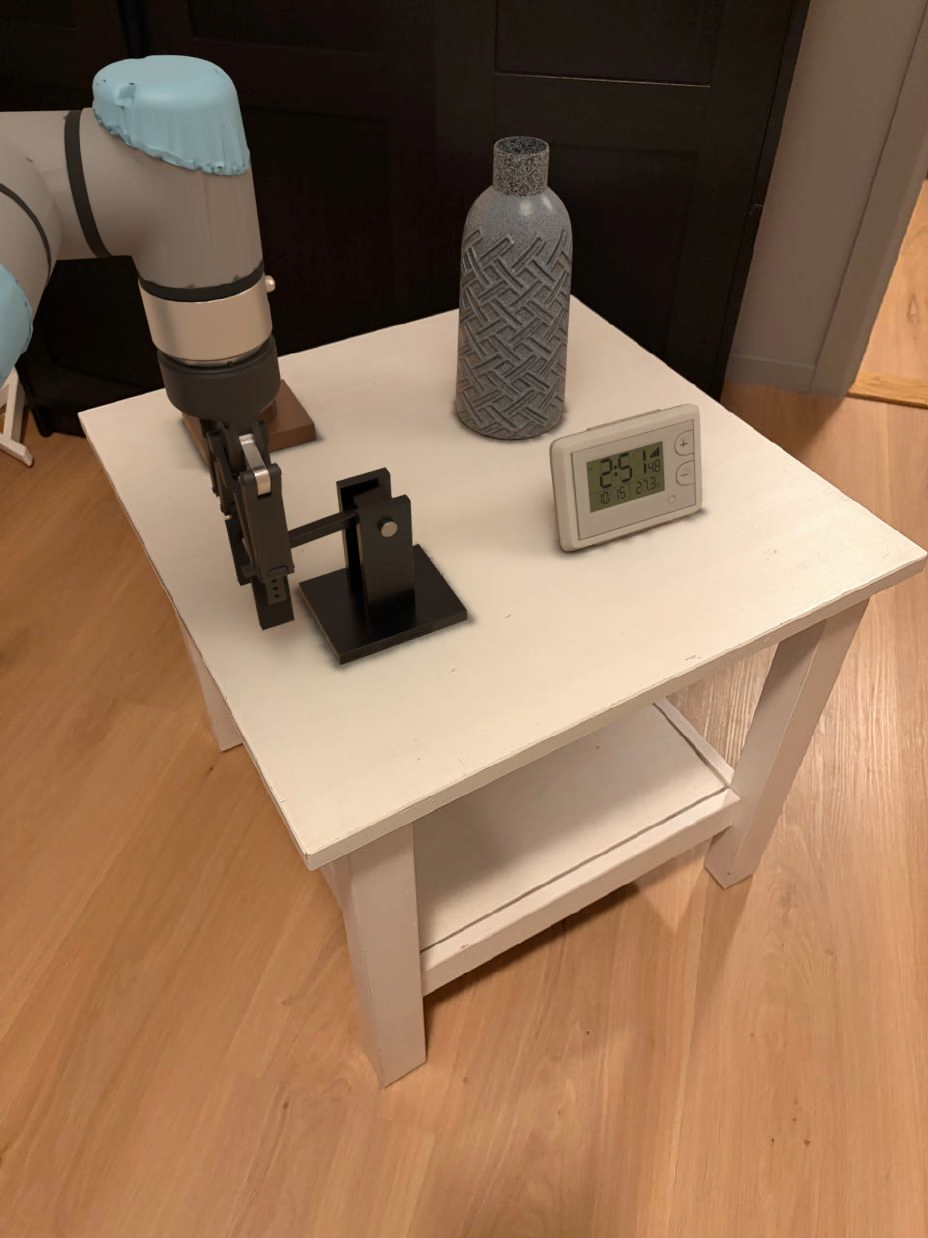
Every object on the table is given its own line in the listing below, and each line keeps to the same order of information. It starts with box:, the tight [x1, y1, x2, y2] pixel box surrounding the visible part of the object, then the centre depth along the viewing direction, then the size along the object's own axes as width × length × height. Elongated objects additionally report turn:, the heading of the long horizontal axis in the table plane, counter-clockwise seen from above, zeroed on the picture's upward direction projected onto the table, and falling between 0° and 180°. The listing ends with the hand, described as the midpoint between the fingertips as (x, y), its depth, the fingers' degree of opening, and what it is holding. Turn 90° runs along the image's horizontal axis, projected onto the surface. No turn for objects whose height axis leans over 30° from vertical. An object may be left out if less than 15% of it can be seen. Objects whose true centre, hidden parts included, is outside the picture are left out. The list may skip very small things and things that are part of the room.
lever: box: [239, 484, 394, 556], centre depth 74 cm, size 12×5×2 cm, turn 117°
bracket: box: [297, 466, 468, 666], centre depth 78 cm, size 12×10×13 cm
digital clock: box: [548, 403, 703, 552], centre depth 88 cm, size 16×9×11 cm, turn 103°
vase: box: [455, 136, 574, 440], centre depth 95 cm, size 12×12×28 cm
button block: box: [180, 378, 317, 467], centre depth 101 cm, size 12×10×4 cm
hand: (265, 599), depth 76 cm, fingers closed on lever, 5 cm apart
